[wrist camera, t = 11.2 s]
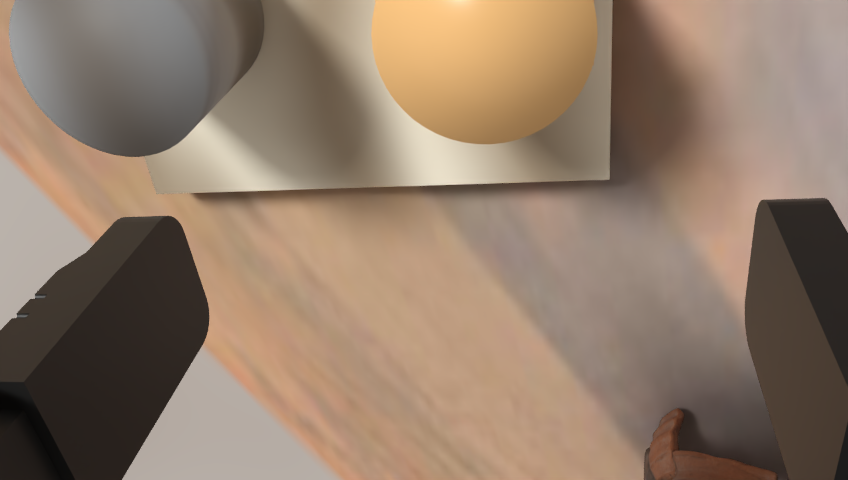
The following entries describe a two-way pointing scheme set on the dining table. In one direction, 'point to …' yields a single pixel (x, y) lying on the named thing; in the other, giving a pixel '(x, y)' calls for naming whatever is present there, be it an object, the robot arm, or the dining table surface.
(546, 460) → the dining table surface
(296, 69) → the board
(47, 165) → the dining table surface
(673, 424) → the brown curved ring piece
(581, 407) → the dining table surface
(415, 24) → the orange cap
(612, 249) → the dining table surface
